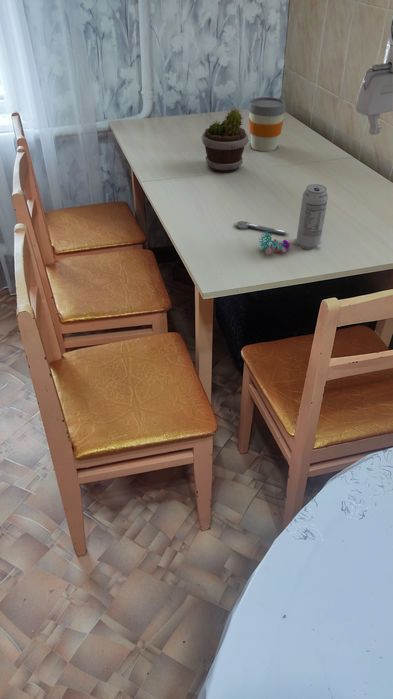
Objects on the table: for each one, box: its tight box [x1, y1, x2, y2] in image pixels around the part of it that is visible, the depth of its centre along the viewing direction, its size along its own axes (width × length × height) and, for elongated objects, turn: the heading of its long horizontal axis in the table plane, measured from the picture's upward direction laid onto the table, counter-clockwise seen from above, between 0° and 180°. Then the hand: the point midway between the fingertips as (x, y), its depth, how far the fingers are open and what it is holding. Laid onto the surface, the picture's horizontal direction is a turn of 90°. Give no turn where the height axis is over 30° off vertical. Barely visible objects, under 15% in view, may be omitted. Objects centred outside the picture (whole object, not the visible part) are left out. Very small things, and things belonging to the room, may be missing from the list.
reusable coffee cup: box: [248, 96, 286, 152], centre depth 189 cm, size 13×13×15 cm
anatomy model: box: [258, 231, 291, 256], centre depth 134 cm, size 5×8×7 cm
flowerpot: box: [201, 104, 250, 173], centre depth 172 cm, size 14×15×20 cm
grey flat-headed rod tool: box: [235, 220, 287, 236], centre depth 144 cm, size 14×4×1 cm, turn 66°
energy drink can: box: [295, 183, 329, 250], centre depth 134 cm, size 6×6×15 cm
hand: (390, 130), depth 119 cm, fingers open, 8 cm apart
